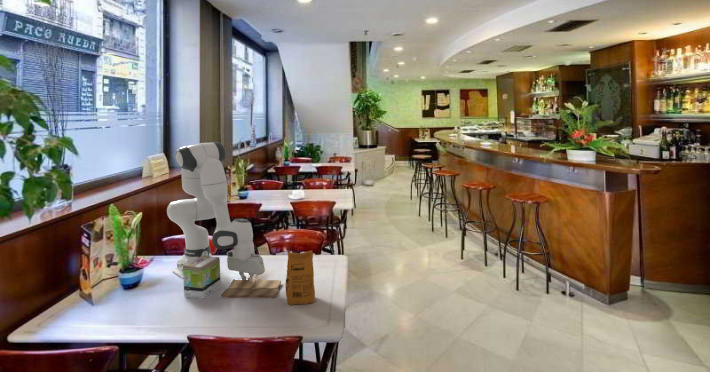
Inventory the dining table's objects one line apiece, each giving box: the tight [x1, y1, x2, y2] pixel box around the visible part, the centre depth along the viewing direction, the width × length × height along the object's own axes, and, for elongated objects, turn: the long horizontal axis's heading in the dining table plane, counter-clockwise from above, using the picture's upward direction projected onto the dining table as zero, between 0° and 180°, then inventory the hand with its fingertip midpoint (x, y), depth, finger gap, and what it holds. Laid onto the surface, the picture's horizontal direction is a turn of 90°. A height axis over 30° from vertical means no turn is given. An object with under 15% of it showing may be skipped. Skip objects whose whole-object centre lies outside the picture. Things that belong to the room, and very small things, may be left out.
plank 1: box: [227, 278, 257, 289], centre depth 197 cm, size 11×8×1 cm
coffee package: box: [285, 250, 316, 306], centre depth 181 cm, size 10×12×22 cm
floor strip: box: [220, 288, 279, 299], centre depth 189 cm, size 24×7×1 cm, turn 88°
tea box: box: [182, 256, 222, 299], centre depth 192 cm, size 15×10×15 cm, turn 168°
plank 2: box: [253, 279, 282, 290], centre depth 197 cm, size 11×8×1 cm
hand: (247, 280), depth 199 cm, fingers open, 2 cm apart
